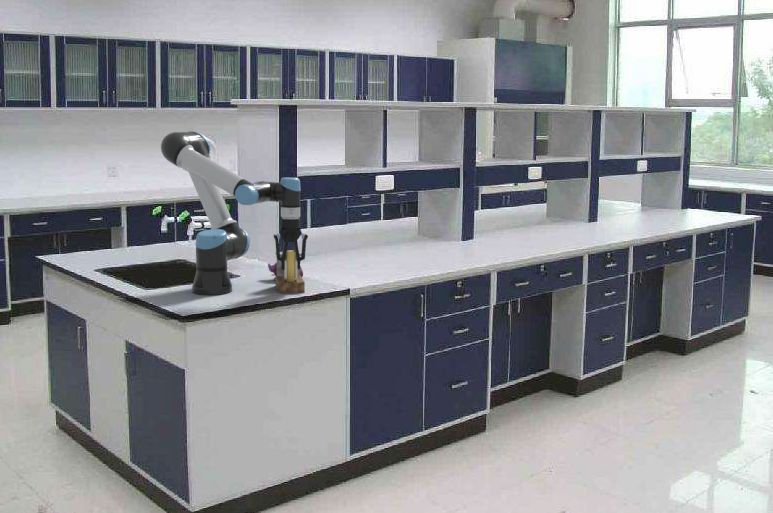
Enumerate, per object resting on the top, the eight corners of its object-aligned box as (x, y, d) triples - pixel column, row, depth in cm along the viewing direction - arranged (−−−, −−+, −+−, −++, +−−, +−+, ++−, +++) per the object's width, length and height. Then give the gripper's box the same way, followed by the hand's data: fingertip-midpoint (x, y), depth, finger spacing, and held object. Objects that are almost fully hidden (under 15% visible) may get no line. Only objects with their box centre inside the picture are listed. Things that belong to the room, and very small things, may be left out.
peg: (286, 285, 329) (285, 250, 326) (294, 285, 329) (294, 250, 327) (286, 287, 325) (286, 251, 323) (295, 287, 326) (295, 251, 324)
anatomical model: (303, 275, 357) (268, 269, 357) (306, 255, 353) (270, 250, 353) (300, 288, 347) (263, 282, 346) (302, 268, 343) (266, 262, 342)
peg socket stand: (278, 293, 324) (278, 257, 321) (275, 285, 337) (275, 251, 335) (304, 292, 326) (304, 257, 324) (300, 285, 339) (300, 251, 337)
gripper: (269, 219, 318) (270, 280, 321) (313, 218, 321) (313, 279, 325) (268, 216, 325) (268, 276, 329) (310, 216, 328) (310, 275, 332)
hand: (290, 277), depth 327 cm, fingers closed on peg, 3 cm apart
